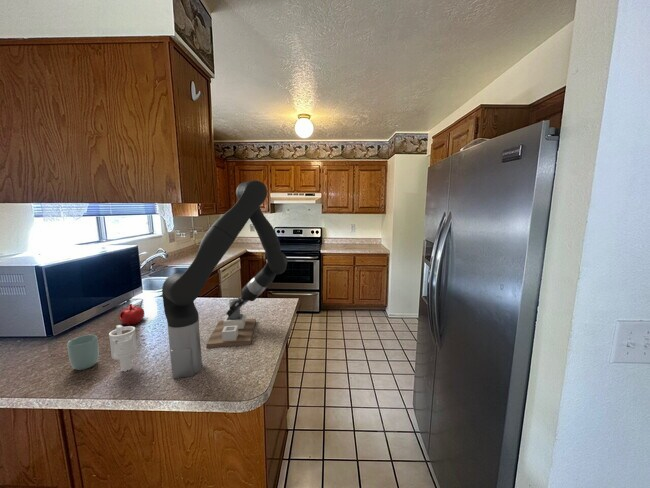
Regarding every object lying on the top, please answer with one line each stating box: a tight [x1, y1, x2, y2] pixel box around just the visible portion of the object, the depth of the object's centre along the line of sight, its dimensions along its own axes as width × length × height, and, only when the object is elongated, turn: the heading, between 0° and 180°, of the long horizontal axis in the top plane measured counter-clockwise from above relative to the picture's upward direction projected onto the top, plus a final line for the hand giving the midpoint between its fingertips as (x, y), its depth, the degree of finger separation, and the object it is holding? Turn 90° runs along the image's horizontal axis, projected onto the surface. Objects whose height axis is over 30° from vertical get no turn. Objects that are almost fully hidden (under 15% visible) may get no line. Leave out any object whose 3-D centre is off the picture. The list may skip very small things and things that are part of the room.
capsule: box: [228, 298, 241, 320], centre depth 121 cm, size 4×4×10 cm
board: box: [205, 318, 257, 349], centre depth 117 cm, size 22×17×2 cm
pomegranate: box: [118, 303, 145, 326], centre depth 129 cm, size 10×10×9 cm
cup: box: [66, 333, 100, 371], centre depth 93 cm, size 8×8×10 cm
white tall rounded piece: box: [108, 324, 138, 372], centre depth 91 cm, size 7×7×15 cm
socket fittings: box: [222, 312, 247, 341], centre depth 117 cm, size 19×8×4 cm, turn 9°
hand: (231, 312), depth 122 cm, fingers open, 4 cm apart
